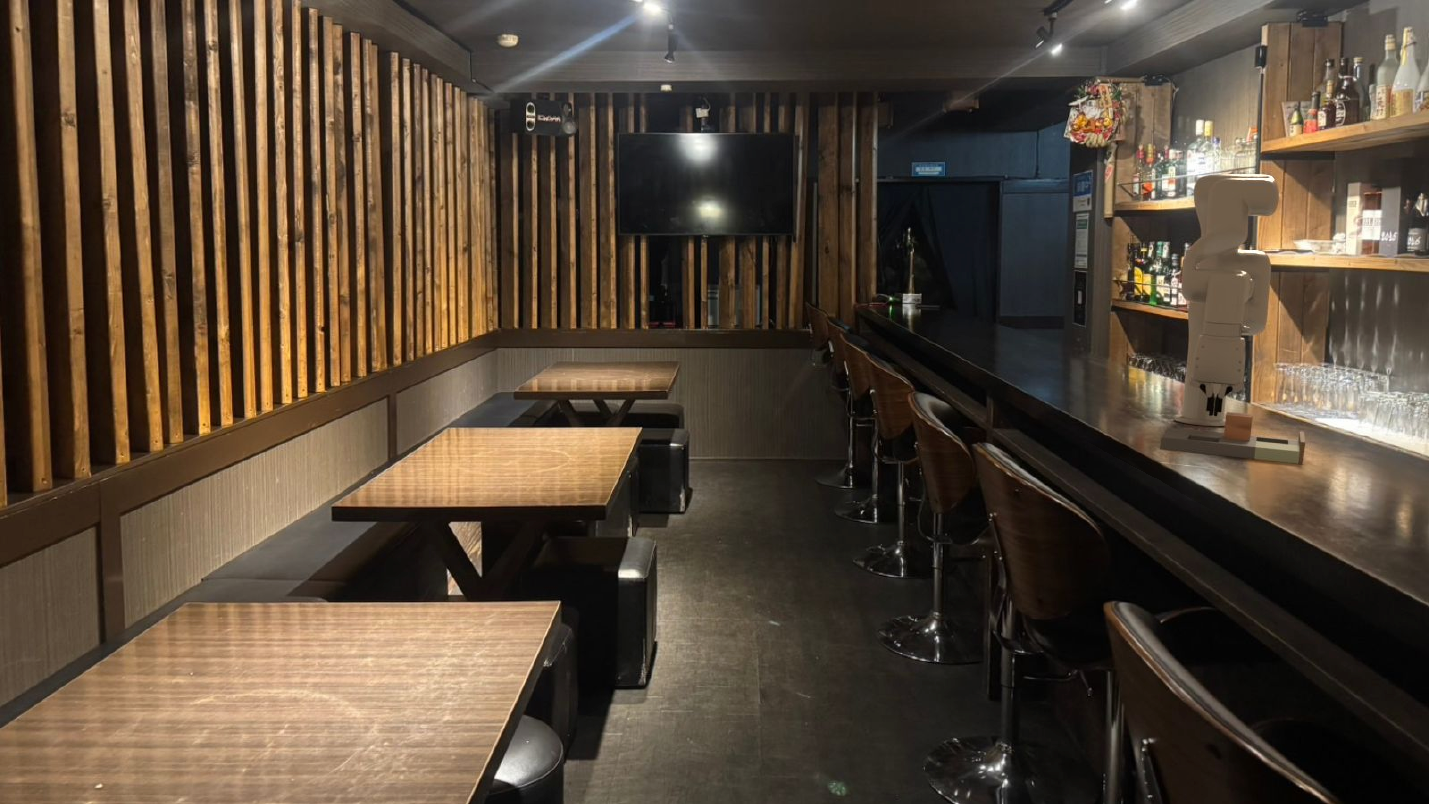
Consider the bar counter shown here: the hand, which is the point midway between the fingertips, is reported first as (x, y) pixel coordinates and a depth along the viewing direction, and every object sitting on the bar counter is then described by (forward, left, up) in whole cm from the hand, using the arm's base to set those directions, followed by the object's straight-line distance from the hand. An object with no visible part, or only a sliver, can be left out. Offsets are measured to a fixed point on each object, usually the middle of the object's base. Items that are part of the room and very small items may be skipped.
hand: (1213, 415), depth 240 cm
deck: (+4, +4, -7) cm, 9 cm away
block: (+2, +5, -4) cm, 7 cm away
